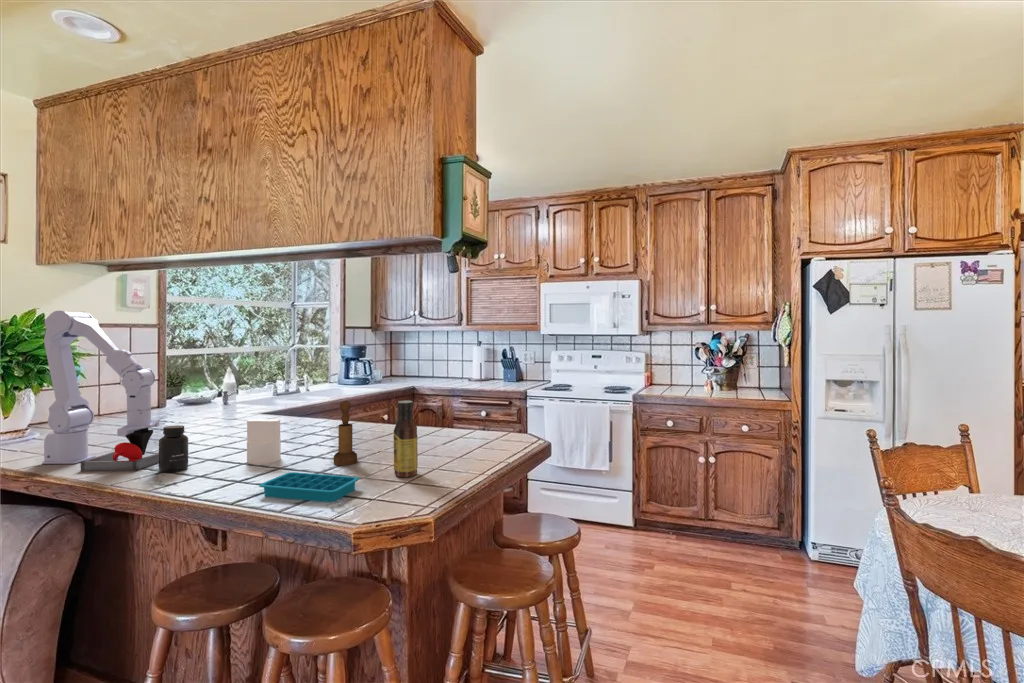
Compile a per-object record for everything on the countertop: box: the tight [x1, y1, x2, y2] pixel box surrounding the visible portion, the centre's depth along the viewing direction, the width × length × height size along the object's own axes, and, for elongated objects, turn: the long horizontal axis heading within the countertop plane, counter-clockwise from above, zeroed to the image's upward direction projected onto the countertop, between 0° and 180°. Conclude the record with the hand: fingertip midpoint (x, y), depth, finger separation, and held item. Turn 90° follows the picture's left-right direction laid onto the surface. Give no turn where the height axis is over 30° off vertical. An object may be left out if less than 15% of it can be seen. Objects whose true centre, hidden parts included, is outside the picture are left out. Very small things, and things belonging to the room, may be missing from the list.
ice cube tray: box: [259, 471, 360, 503], centre depth 119 cm, size 12×20×3 cm, turn 77°
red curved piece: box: [113, 442, 143, 461], centre depth 144 cm, size 8×6×6 cm
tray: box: [80, 450, 159, 472], centre depth 143 cm, size 15×12×2 cm
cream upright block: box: [246, 418, 282, 465], centre depth 148 cm, size 9×9×12 cm
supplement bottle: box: [158, 424, 189, 474], centre depth 138 cm, size 7×7×12 cm
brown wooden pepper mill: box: [333, 400, 358, 466], centre depth 146 cm, size 7×6×18 cm
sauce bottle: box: [393, 400, 419, 478], centre depth 133 cm, size 6×6×20 cm
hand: (139, 455), depth 148 cm, fingers closed
